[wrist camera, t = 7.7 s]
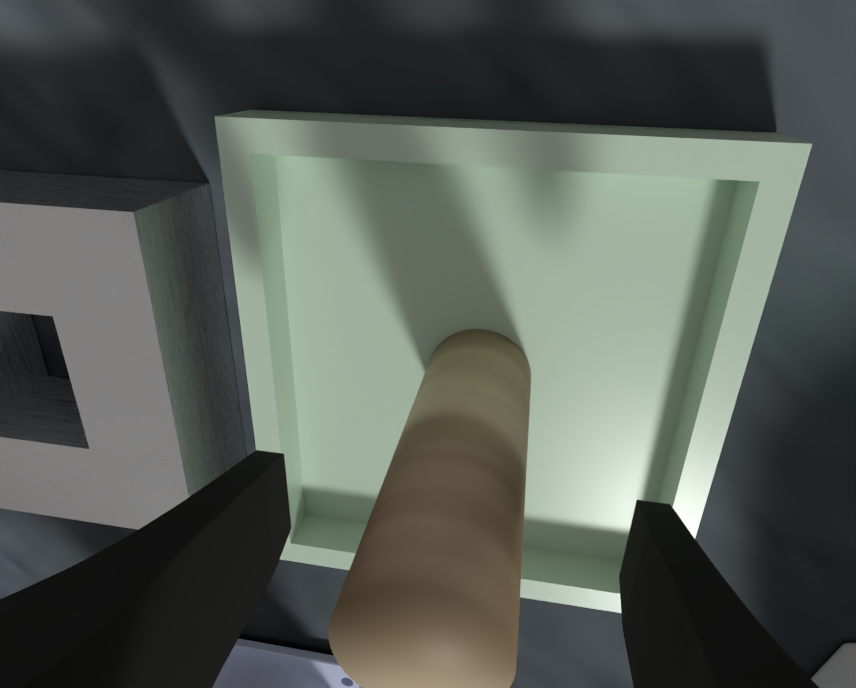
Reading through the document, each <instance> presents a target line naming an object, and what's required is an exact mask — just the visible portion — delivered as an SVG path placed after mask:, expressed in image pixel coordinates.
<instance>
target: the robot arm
mask: <svg viewBox="0 0 856 688" xmlns="http://www.w3.org/2000/svg"><path fill="white" fill-rule="evenodd" d="M290 530H291V518H290V508H289V498H288V488H287V478H286V468H285V458H284V454H283V453H275V452H267V451H260V450H256V451H255V452H253V453H252V454H250V455H249V456H247V457H246V458H244V459H243V460H241V461H240V462H239V463H237V464H236V465H234V466H233V467H231V468H230V469H229V470H227V471H226V472H224V473H223V474H222V475H220V476H219V477H217V478H216V479H215V480H213V481H212V482H210V483H209V484H207V485H206V486H204V487H203V488H202V489H200V490H199V491H197V492H196V493H194V494H193V495H191V496H190V497H188V498H187V499H186V500H184V501H183V502H181V503H180V504H178V505H177V506H175V507H174V508H172V509H171V510H169V511H167V512H166V513H164V514H163V515H161V516H159V517H158V518H156V519H155V520H153V521H151V522H150V523H148V524H147V525H145V526H143V527H142V528H140V529H139V530H137V531H135V532H134V533H132V534H131V535H129V536H127V537H126V538H124V539H122V540H120V541H119V542H117V543H115V544H113V545H112V546H110V547H108V548H106V549H104V550H103V551H101V552H99V553H97V554H95V555H93V556H91V557H89V558H87V559H86V560H84V561H82V562H80V563H78V564H76V565H74V566H72V567H70V568H68V569H66V570H64V571H62V572H60V573H57V574H55V575H53V576H51V577H49V578H47V579H44V580H42V581H40V582H38V583H36V584H34V585H31V586H29V587H27V588H25V589H23V590H20V591H18V592H16V593H14V594H12V595H9V596H7V597H5V598H2V599H0V688H362V687H360V686H359V685H358V684H357V683H355V682H354V681H353V680H352V679H351V678H350V677H349V676H348V675H347V674H346V673H345V672H344V670H343V669H342V668H341V666H340V665H339V664H338V662H337V661H336V659H335V657H334V655H328V654H323V653H317V652H312V651H306V650H301V649H295V648H289V647H284V646H278V645H273V644H267V643H262V642H256V641H250V640H245V639H239V636H240V635H241V633H242V631H243V629H244V627H245V625H246V624H247V622H248V620H249V618H250V616H251V614H252V613H253V611H254V609H255V607H256V605H257V603H258V602H259V600H260V598H261V596H262V594H263V592H264V590H265V589H266V587H267V585H268V583H269V581H270V579H271V577H272V575H273V573H274V571H275V569H276V567H277V564H278V562H279V559H280V557H281V554H282V552H283V549H284V546H285V544H286V541H287V538H288V536H289V533H290ZM619 583H620V599H621V613H622V625H623V632H624V638H625V643H626V649H627V654H628V659H629V664H630V670H631V675H632V680H633V685H634V688H819V687H818V686H817V685H816V684H815V683H814V682H813V681H812V680H811V679H810V678H809V677H808V676H807V674H806V673H805V672H804V671H803V670H802V669H801V668H800V667H799V666H798V665H797V664H796V663H795V662H794V661H793V660H792V659H791V658H790V657H789V656H788V655H787V654H786V653H785V651H784V650H783V649H782V648H781V647H780V646H779V645H778V644H777V643H776V641H775V640H774V639H773V638H772V637H771V636H770V634H769V633H768V632H767V631H766V630H765V629H764V627H763V626H762V625H761V624H760V623H759V622H758V620H757V619H756V618H755V617H754V616H753V614H752V613H751V612H750V611H749V610H748V608H747V607H746V606H745V605H744V603H743V602H742V601H741V600H740V598H739V597H738V596H737V595H736V593H735V592H734V591H733V589H732V588H731V587H730V586H729V584H728V583H727V582H726V580H725V579H724V578H723V577H722V575H721V574H720V573H719V571H718V570H717V569H716V567H715V566H714V565H713V563H712V562H711V561H710V559H709V558H708V557H707V555H706V554H705V552H704V551H703V550H702V548H701V547H700V546H699V544H698V543H697V541H696V540H695V538H694V537H693V536H692V534H691V533H690V531H689V530H688V529H687V527H686V526H685V524H684V523H683V521H682V520H681V519H680V517H679V516H678V514H677V513H676V511H675V510H674V509H673V508H672V506H671V505H670V504H666V503H658V502H650V501H643V500H637V501H636V505H635V510H634V514H633V518H632V523H631V527H630V531H629V536H628V540H627V544H626V549H625V553H624V557H623V562H622V566H621V570H620V575H619Z"/></svg>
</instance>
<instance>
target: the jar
mask: <svg viewBox="0 0 856 688" xmlns="http://www.w3.org/2000/svg"><path fill="white" fill-rule="evenodd" d="M810 679H811V680H812V681H813V682H814V683H815V684H816V685H817V686H818V687H819V688H856V643H845V644H843V645H842V646H841V647H840V648H839V649H838V650H837V651H836V652H835V653H834V654H833V655H832V656H831V657H830V658H829V659H828V660H827V661H826V662H825V663H824V665H823V666H822V667H821V668H820V669H819V670H818V671H817V672H816V673H815V674H814V675H813V676H812V677H811V678H810Z"/></svg>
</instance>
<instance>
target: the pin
mask: <svg viewBox="0 0 856 688" xmlns="http://www.w3.org/2000/svg"><path fill="white" fill-rule="evenodd" d="M530 392H531V369H530V366H529V362H528V360H527V358H526V356H525V354H524V353H523V351H522V350H521V349H520V348H519V347H518V346H517V345H516V344H515V343H514V342H513V341H512V340H510V339H509V338H507V337H505V336H504V335H502V334H499V333H497V332H494V331H490V330H484V329H469V330H464V331H460V332H457V333H455V334H452V335H450V336H449V337H447V338H446V339H444V340H443V341H442V342H441V343H440V344H439V345H438V346H437V347H436V349H435V350H434V352H433V354H432V356H431V358H430V361H429V364H428V366H427V369H426V371H425V374H424V377H423V379H422V382H421V384H420V387H419V390H418V392H417V395H416V397H415V400H414V403H413V405H412V408H411V411H410V413H409V416H408V418H407V421H406V424H405V426H404V429H403V431H402V434H401V437H400V439H399V442H398V444H397V447H396V450H395V452H394V455H393V458H392V460H391V463H390V465H389V468H388V471H387V473H386V476H385V478H384V481H383V484H382V486H381V489H380V491H379V494H378V497H377V499H376V502H375V504H374V507H373V510H372V512H371V515H370V518H369V520H368V523H367V525H366V528H365V531H364V533H363V536H362V538H361V541H360V544H359V546H358V549H357V551H356V554H355V557H354V559H353V562H352V565H351V567H350V570H349V572H348V575H347V578H346V580H345V583H344V585H343V588H342V591H341V593H340V596H339V598H338V601H337V604H336V606H335V609H334V612H333V614H332V617H331V619H330V623H329V628H328V638H329V644H330V647H331V650H332V653H333V655H334V657H335V659H336V661H337V662H338V664H339V665H340V666H341V668H342V669H343V670H344V672H345V673H346V674H347V675H348V676H349V677H350V678H351V679H352V680H353V681H354V682H355V683H357V684H358V685H359V686H360V687H362V688H510V686H511V684H512V682H513V680H514V677H515V673H516V664H517V645H518V625H519V606H520V586H521V567H522V547H523V528H524V508H525V489H526V469H527V450H528V430H529V411H530Z"/></svg>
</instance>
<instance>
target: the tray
mask: <svg viewBox="0 0 856 688" xmlns="http://www.w3.org/2000/svg"><path fill="white" fill-rule="evenodd" d="M214 117H215V125H216V133H217V141H218V149H219V157H220V165H221V173H222V181H223V189H224V197H225V205H226V213H227V221H228V229H229V237H230V245H231V253H232V260H233V268H234V276H235V284H236V292H237V300H238V308H239V316H240V324H241V332H242V340H243V348H244V356H245V364H246V372H247V380H248V388H249V396H250V404H251V412H252V420H253V428H254V436H255V444H256V450H260V451H267V452H275V453H283V454H284V458H285V468H286V478H287V488H288V498H289V508H290V518H291V530H290V533H289V536H288V538H287V541H286V544H285V546H284V549H283V552H282V554H281V557H280V559H281V560H288V561H294V562H300V563H307V564H313V565H320V566H326V567H332V568H339V569H345V570H350V567H351V565H352V562H353V559H354V557H355V554H356V551H357V549H358V546H359V544H360V541H361V538H362V536H363V533H364V531H365V528H366V525H367V523H368V520H369V518H370V515H371V512H372V510H373V507H374V504H375V502H376V499H377V497H378V494H379V491H380V489H381V486H382V484H383V481H384V478H385V476H386V473H387V471H388V468H389V465H390V463H391V460H392V458H393V455H394V452H395V450H396V447H397V444H398V442H399V439H400V437H401V434H402V431H403V429H404V426H405V424H406V421H407V418H408V416H409V413H410V411H411V408H412V405H413V403H414V400H415V397H416V395H417V392H418V390H419V387H420V384H421V382H422V379H423V377H424V374H425V371H426V369H427V366H428V364H429V361H430V358H431V356H432V354H433V352H434V350H435V349H436V347H437V346H438V345H439V344H440V343H441V342H442V341H443V340H444V339H446V338H447V337H449V336H450V335H452V334H455V333H457V332H460V331H464V330H469V329H484V330H490V331H494V332H497V333H499V334H502V335H504V336H505V337H507V338H509V339H510V340H512V341H513V342H514V343H515V344H516V345H517V346H518V347H519V348H520V349H521V350H522V351H523V353H524V354H525V356H526V358H527V360H528V362H529V366H530V369H531V392H530V411H529V430H528V450H527V469H526V489H525V508H524V528H523V547H522V567H521V586H520V597H523V598H529V599H535V600H542V601H548V602H554V603H561V604H567V605H574V606H580V607H586V608H593V609H599V610H605V611H612V612H618V613H621V599H620V583H619V575H620V570H621V566H622V562H623V557H624V553H625V549H626V544H627V540H628V536H629V531H630V527H631V523H632V518H633V514H634V510H635V505H636V501H637V500H643V501H650V502H658V503H666V504H670V505H671V506H672V508H673V509H674V510H675V511H676V513H677V514H678V516H679V517H680V519H681V520H682V521H683V523H684V524H685V526H686V527H687V529H688V530H689V531H690V533H691V534H692V536H693V537H694V538H695V537H696V534H697V530H698V527H699V523H700V520H701V517H702V513H703V510H704V507H705V503H706V500H707V497H708V493H709V490H710V486H711V483H712V480H713V476H714V473H715V470H716V466H717V463H718V460H719V456H720V453H721V449H722V446H723V443H724V439H725V436H726V433H727V429H728V426H729V423H730V419H731V416H732V412H733V409H734V406H735V402H736V399H737V396H738V392H739V389H740V386H741V382H742V379H743V375H744V372H745V369H746V365H747V362H748V359H749V355H750V352H751V349H752V345H753V342H754V338H755V335H756V332H757V328H758V325H759V322H760V318H761V315H762V312H763V308H764V305H765V301H766V298H767V295H768V291H769V288H770V285H771V281H772V278H773V275H774V271H775V268H776V264H777V261H778V258H779V254H780V251H781V248H782V244H783V241H784V238H785V234H786V231H787V227H788V224H789V221H790V217H791V214H792V211H793V207H794V204H795V201H796V197H797V194H798V190H799V187H800V184H801V180H802V177H803V174H804V170H805V167H806V164H807V160H808V157H809V153H810V150H811V147H812V144H811V143H808V142H805V141H802V140H799V139H796V138H793V137H790V136H787V135H783V134H780V133H775V132H752V131H729V130H706V129H683V128H661V127H638V126H615V125H592V124H569V123H546V122H523V121H500V120H477V119H455V118H432V117H409V116H386V115H363V114H340V113H317V112H294V111H271V110H247V111H241V112H236V113H231V114H225V115H220V116H214Z"/></svg>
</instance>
